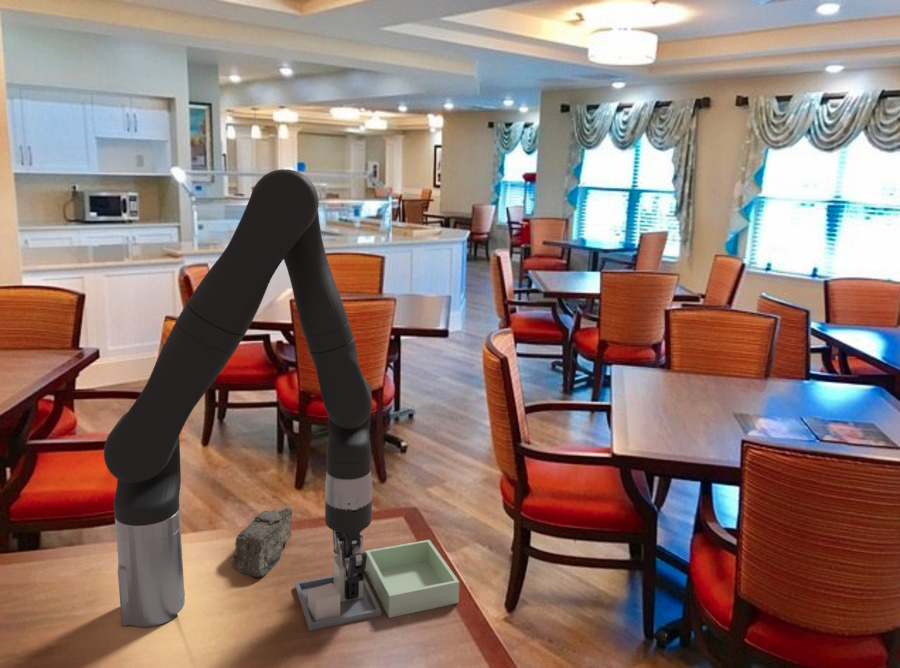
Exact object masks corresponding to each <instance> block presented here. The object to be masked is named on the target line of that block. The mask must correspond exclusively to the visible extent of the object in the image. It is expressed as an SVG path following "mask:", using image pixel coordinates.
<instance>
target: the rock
mask: <svg viewBox="0 0 900 668" xmlns="http://www.w3.org/2000/svg"><path fill="white" fill-rule="evenodd" d="M292 515H293V511H292V509H291V508H290V507H285V508H283V509H281V510H278V509H274V510H264V511H261V512H260V513H258V514H257V515H256V516H255V517H254V519H253V521H251V522H250V523H249V524H248V525H247V526H246V528H244V529H243V530H241V532H239V533H238V535H237V536H236V538H235V543H234V545H235V551H234V552H235V554H234V555H233V556H232V558H231V561H230V562H231V564H232V566H233V568H234V569H235V570H236V571H238V572H240V573H241V574H244V575H248V576H252V577H254V578H261V577H263V576H266V574H268V572H270V571H271V570H272V569H274V567H275V566H276V565H277V564H278V563H279V561H280V559H281V556H282V552H283V550H284V544H285V543H286V542H287V541H288V540H289V539H291V537H292V535H293V534H292V531H291V528H292V523H293V518H292Z"/></svg>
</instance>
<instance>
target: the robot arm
mask: <svg viewBox="0 0 900 668" xmlns="http://www.w3.org/2000/svg"><path fill="white" fill-rule="evenodd" d="M318 195H319V194H318V191H317V189H316V187H315V185H314V184H313V182H312V181H311V180H310V178H308V177H307V175H306V176H305V175H304V174H303V173H302V172H299V171H296V170H293V169H289V168H288V169H287V168H283V169H277V170H276V169H275V170H272V171H269V172H267V173H266V174H264V175H263V176H262V177H261V178H259V180H258V181H257V182H256V184H255V185H254V187H253V189H252V191H251V195H250V197H249V200H248V202H247V205H246V206H245V209H244V210H243V213H242V215H241V216H242V217H241V218H240V220H239V222H238V223H237V227H236V229H235V231H234V233H233V235H232V237H231V239H230V240H229V242H228V245H227V246H226V247H225V249H224V251H223V252H222V253H221V254H220V256H219V258H218V259H217V260H216V261H215V263H213V265H212V266H211V268H210V269H209V270H208V271H207V273H206V274H205V275H204V277H202V280H201V281H200V282H199V284H198V286H197V287H196V288H195V290H194V291H193V293H192V294H191V296H190V298H189V299H188V300H187V302H186V304H185V305H184V307H183V309H182V311H181V312H180V314H179V316H178V317H177V319H176V321H175V323H174V325H173V327H172V329H171V330H170V332H169V335H168V336H167V337H166V341H165V342H164V343H163V347H162V348H161V351H160V352H159V355H158V357H157V359H156V361H155V364H154V367H153V368H152V371H151V373H150V375H149V377H148V380H147V382H146V384H145V386H144V388H143V389H142V391H141V393H140V394H139V396H138V397H137V398H136V400H135V401H134V403H133V404H132V405H131V407H130V408H129V410H128V411H126V412H125V414H122V416H121V418H120V419H119V420H118V421H117V423H116V424H115V426H114V427H113V428H112V430H111V431H110V433H109V434H108V435H107V437H106V440H105V443H104V446H103V459H104V464H105V466H106V468H107V469H108V471H109V472H110V474H111V475H112V476H113V477H114V478H115V479H116V487H115V492H114V499H113V512H114V523H115V537H116V548H117V549H116V551H117V561H118V563H117V580H118V591H119V592H118V593H119V605H120V618H121V619H120V621H121V626H123V627H125V626H135V627H138V628H139V627H144V628H147V627H155V626H160V625H162V624H165V623H167V622H170V621H172V620H173V619H175V618H177V616H178V614H179V613H180V612H181V611H182V609H184V607H185V600H186V599H185V595H186V593H185V581H184V580H185V577H184V561H183V549H182V548H183V547H182V546H183V545H182V529H181V512H180V511H181V510H180V491H181V482H182V481H181V480H182V479H181V478H182V477H181V475H182V473H181V447H180V446H181V445H180V434H181V433H182V430H183V428H184V427H185V424H186V422H187V421H188V419H189V416H190V415H191V413H192V411H193V410H194V408H195V407H196V405H197V404H198V403H199V402H200V401H201V399H202V398H203V396H204V395H205V394H206V392H207V391H208V390H209V389H210V387H211V386H212V385H213V384H214V382H215V380H216V379H217V378H218V376H219V375H220V373H222V371H223V369H224V368H225V367H226V365H227V363H228V362H229V360H230V359H231V358H232V356H233V355H234V353H236V351H237V348H238V347H239V345H240V343H241V341H242V340H243V338H245V335H246V333H247V332H248V330H249V328H250V326H251V324H252V322H253V320H254V318H255V316H256V314H257V312H258V311H259V308H260V306H261V303H262V301H263V299H264V296H265V294H266V291H267V289H268V287H269V284H270V282H271V280H272V278H273V276H274V274H275V273H276V271H277V269H278V268H279V267H280V265H281V263H282V262H283V261H284V264H285V266H286V270H287V273H288V277H289V280H290V284H291V288H292V293H293V298H294V299H293V300H294V303H295V307H296V312H297V316H298V320H299V323H300V327H301V330H302V334H303V336H304V339H305V342H306V347H308V351H309V355H310V357H311V360H312V362H313V364H314V367H315V371H316V376H317V380H318V386H319V389H320V394H321V398H322V401H323V402H322V403H323V405H324V409H325V412H326V414H327V416H328V418H327V419H328V439H327V445H326V474H325V482H324V487H325V488H324V507H325V509H324V521H325V525H326V527H328V529H330V530H331V531H332V539H333V541H332V542H333V552H334V554H335V555H336V556H340V562H341V565H342V566H343V567H344V579H345V598H346V599H347V600H350V599H355V598H357V597H358V596H359V581H363V580H364V576H365V574H366V571H365V567H366V560H367V555H366V553H365V552H363V546H364V538H363V534H361V532H362V531H364V530H365V529H367V528H368V527H369V526H370V525H371V523H372V519H373V517H372V516H373V515H372V514H373V478H372V477H373V476H372V446H371V445H372V444H371V439H370V427H371V426H370V425H371V412H372V410H373V409H372V408H373V395H372V389H371V385H370V384H369V381H367V379H366V378H365V377H364V375H363V373H362V370H361V366H360V364H359V361H358V352H357V351H358V350H357V344H356V341H355V338H354V334H353V331H352V327H351V325H350V324H351V323H350V322H349V318H348V315H347V312H346V308H345V307H344V303H343V300H342V298H341V295H340V293H339V289H338V287H337V284H336V282H335V279H334V276H333V273H332V271H331V267H330V264H329V261H328V257H327V254H326V251H325V250H326V249H325V246H324V241H323V237H322V230H321V223H320V216H319V205H320V202H319V201H320V200H319V196H318ZM345 558H349V560H345Z"/></svg>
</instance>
